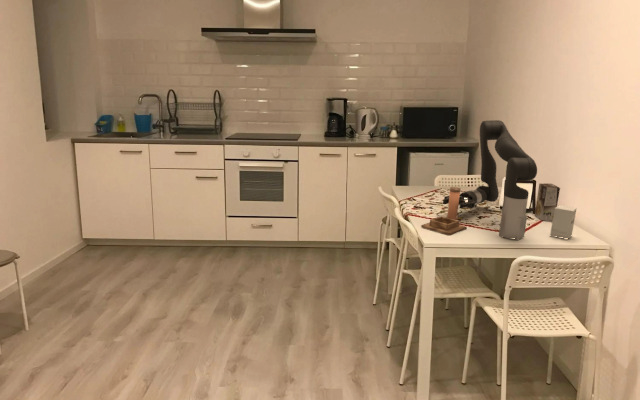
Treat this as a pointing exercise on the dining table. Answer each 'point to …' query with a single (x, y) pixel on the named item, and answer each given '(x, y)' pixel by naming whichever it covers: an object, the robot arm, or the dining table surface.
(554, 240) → the dining table surface
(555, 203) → the coffee box
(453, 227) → the walnut socket board
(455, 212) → the wooden peg
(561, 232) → the supplement box
